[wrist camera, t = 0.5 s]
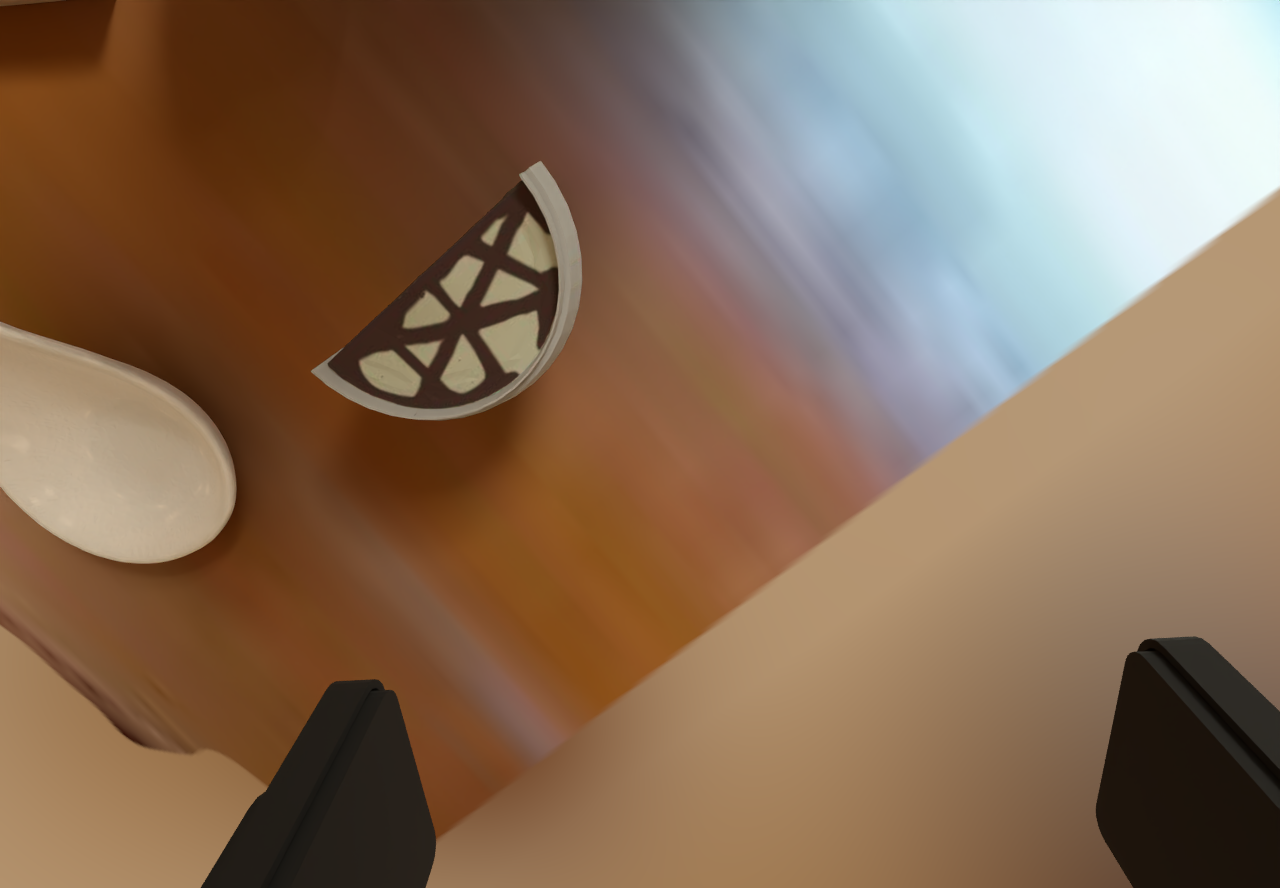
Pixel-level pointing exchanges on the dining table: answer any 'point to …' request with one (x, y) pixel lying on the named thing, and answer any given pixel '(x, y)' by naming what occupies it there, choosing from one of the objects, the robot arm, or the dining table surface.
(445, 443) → the dining table surface
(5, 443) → the spoon rest
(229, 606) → the dining table surface
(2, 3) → the birch plinth
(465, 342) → the food container
